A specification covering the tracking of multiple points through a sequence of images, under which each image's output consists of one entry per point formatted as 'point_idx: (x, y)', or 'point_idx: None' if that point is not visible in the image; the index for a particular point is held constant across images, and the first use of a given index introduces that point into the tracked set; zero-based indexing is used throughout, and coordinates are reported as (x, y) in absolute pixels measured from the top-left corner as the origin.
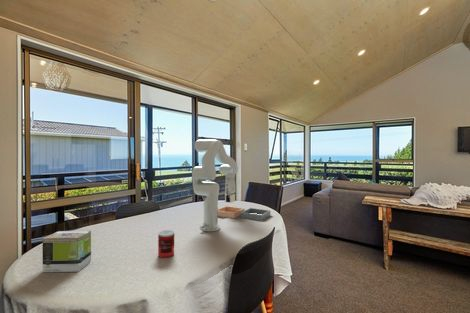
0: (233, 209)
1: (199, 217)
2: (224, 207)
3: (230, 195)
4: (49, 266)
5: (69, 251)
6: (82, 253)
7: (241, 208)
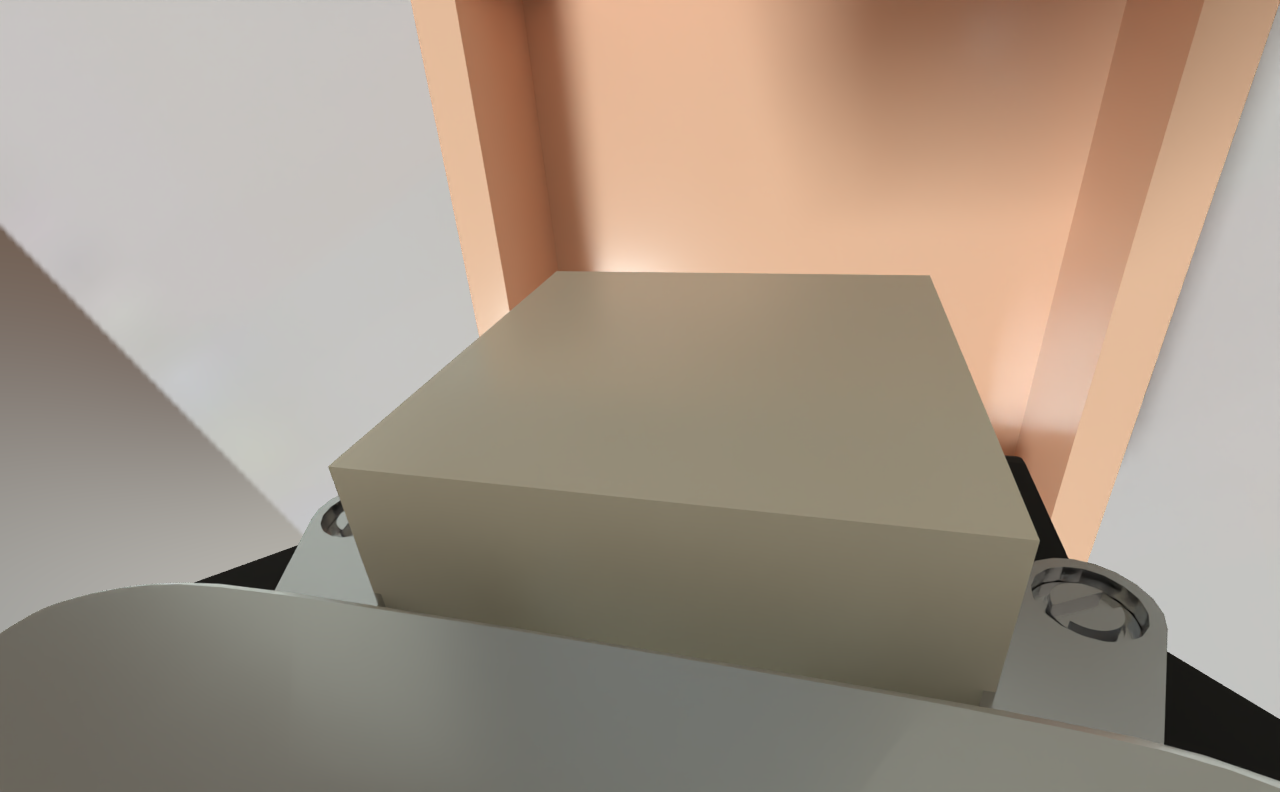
0: None
1: (1252, 696)
2: None
3: (1002, 604)
4: None
5: None
6: None
7: (458, 43)
